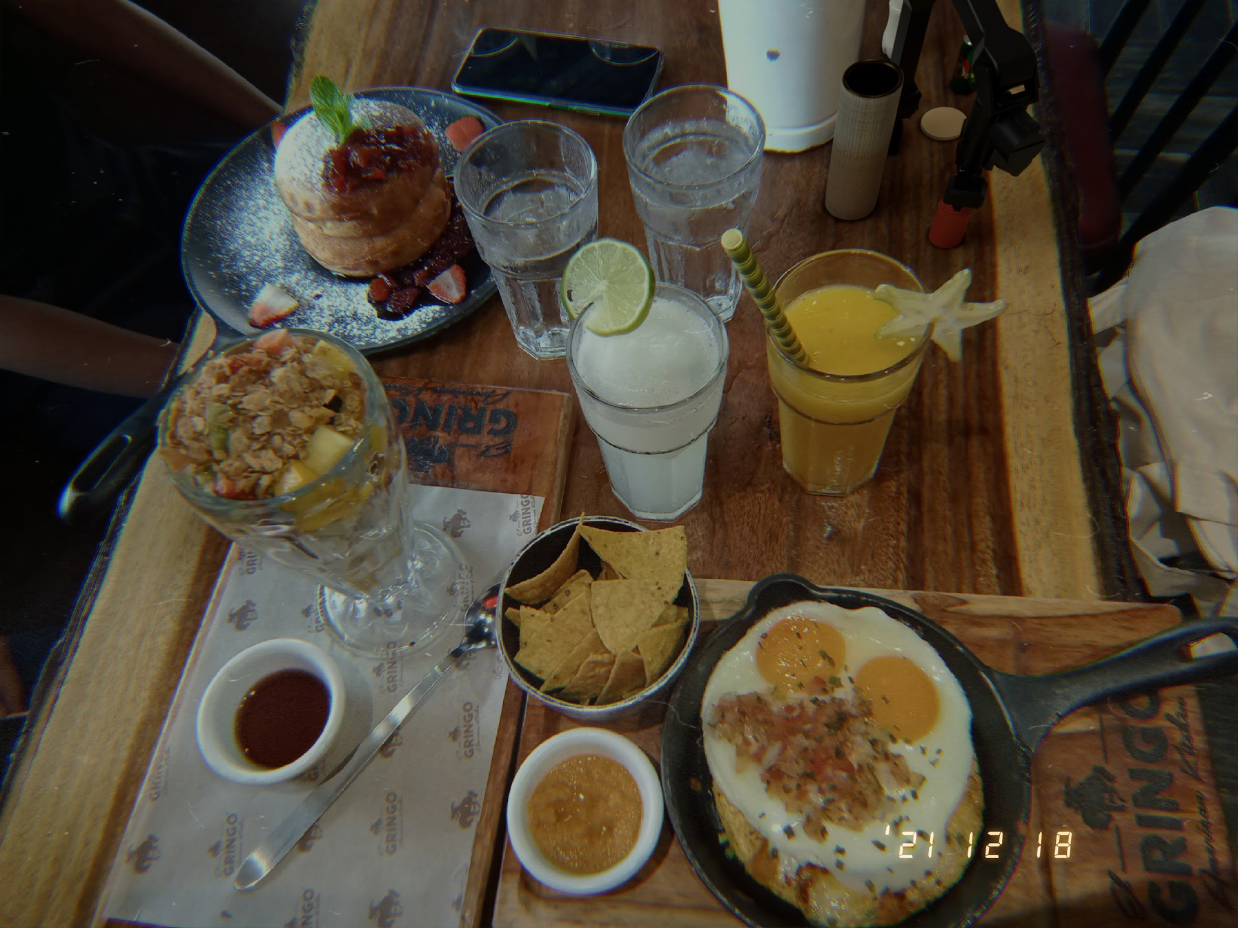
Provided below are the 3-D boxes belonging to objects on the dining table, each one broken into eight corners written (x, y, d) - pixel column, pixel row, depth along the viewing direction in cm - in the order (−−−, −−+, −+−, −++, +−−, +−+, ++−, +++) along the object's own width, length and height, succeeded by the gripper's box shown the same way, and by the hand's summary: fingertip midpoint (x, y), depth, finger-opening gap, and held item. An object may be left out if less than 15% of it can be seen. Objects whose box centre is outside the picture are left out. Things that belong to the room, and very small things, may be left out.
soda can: (973, 78, 156) (990, 24, 145) (975, 94, 154) (993, 40, 143) (948, 80, 157) (963, 26, 146) (950, 96, 155) (966, 42, 144)
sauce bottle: (930, 249, 138) (946, 203, 128) (926, 225, 141) (941, 178, 131) (964, 247, 137) (982, 201, 127) (959, 223, 140) (977, 176, 130)
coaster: (923, 142, 150) (923, 139, 150) (918, 112, 154) (919, 108, 153) (969, 139, 149) (970, 135, 148) (963, 108, 153) (964, 105, 152)
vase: (878, 186, 147) (907, 58, 122) (872, 223, 143) (900, 99, 118) (828, 182, 149) (846, 56, 124) (821, 219, 145) (838, 95, 121)
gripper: (1031, 174, 111) (999, 246, 125) (1048, 92, 118) (1015, 168, 132) (954, 164, 114) (931, 235, 128) (975, 84, 121) (950, 159, 135)
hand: (959, 199), depth 131 cm, fingers open, 5 cm apart
